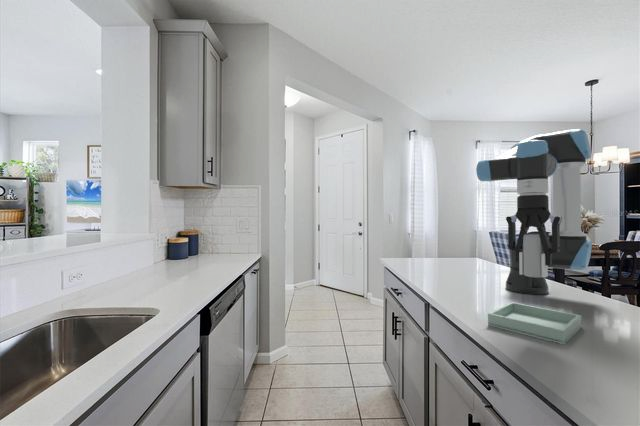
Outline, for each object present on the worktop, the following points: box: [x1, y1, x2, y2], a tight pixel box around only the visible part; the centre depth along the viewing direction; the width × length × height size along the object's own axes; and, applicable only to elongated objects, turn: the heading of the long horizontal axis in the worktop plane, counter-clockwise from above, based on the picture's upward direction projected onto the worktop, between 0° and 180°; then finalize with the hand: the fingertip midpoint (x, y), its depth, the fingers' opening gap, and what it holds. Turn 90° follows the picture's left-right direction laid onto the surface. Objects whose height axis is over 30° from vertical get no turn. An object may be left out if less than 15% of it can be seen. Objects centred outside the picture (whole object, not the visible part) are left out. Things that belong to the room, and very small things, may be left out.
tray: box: [487, 301, 582, 345], centre depth 90 cm, size 18×18×3 cm
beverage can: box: [523, 233, 543, 277], centre depth 90 cm, size 5×5×12 cm
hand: (533, 275), depth 90 cm, fingers closed on beverage can, 5 cm apart
